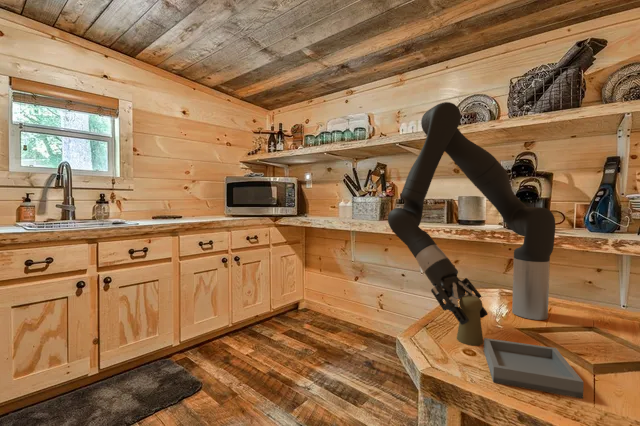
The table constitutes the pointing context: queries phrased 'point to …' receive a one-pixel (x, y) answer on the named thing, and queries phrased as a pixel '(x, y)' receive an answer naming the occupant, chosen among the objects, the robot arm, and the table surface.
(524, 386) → the tray
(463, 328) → the cork
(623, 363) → the table surface
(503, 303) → the table surface
